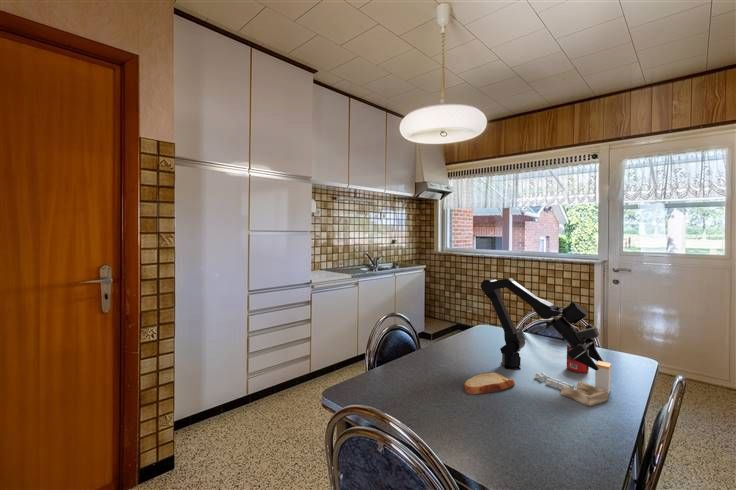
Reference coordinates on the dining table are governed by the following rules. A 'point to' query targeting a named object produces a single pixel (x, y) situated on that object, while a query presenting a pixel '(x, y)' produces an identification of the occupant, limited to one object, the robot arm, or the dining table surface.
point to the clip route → (552, 381)
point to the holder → (585, 394)
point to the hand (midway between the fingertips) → (600, 366)
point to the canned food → (575, 364)
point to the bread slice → (487, 383)
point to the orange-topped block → (603, 376)
